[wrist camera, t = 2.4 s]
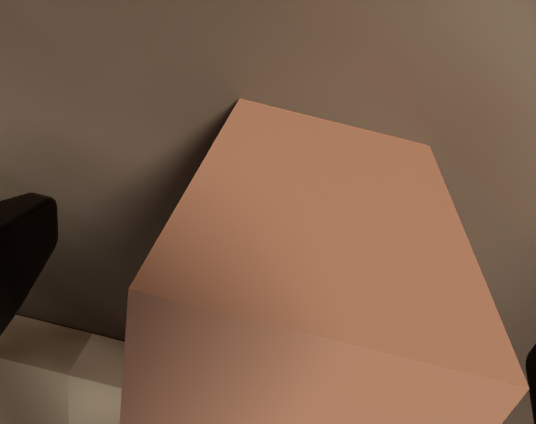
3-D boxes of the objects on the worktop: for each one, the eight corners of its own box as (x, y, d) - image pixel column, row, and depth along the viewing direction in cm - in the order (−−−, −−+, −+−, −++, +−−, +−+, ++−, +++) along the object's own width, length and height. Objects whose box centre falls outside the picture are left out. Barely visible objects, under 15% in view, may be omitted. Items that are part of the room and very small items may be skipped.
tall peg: (211, 250, 12) (114, 497, 7) (239, 98, 10) (128, 288, 5) (367, 289, 12) (388, 566, 7) (429, 145, 10) (529, 388, 5)
